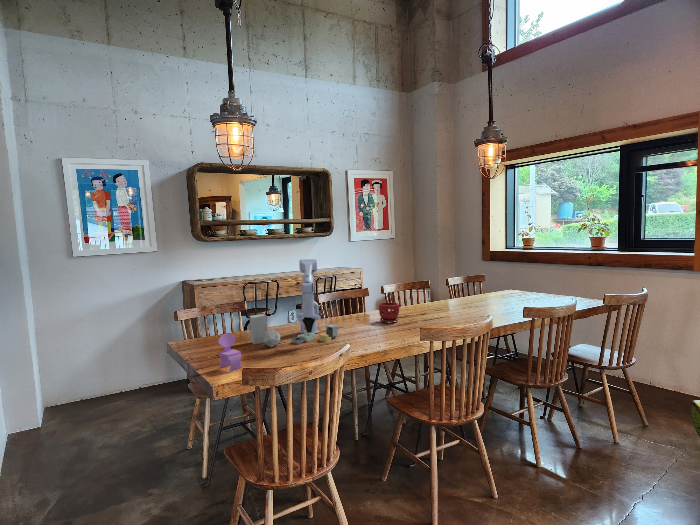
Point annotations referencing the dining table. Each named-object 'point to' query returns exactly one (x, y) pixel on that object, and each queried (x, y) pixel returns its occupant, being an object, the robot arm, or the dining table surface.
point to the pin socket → (297, 340)
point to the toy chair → (229, 353)
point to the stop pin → (305, 332)
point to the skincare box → (258, 328)
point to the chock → (324, 338)
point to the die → (271, 338)
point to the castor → (331, 331)
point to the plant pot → (389, 315)
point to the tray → (310, 338)
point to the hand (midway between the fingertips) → (309, 332)
